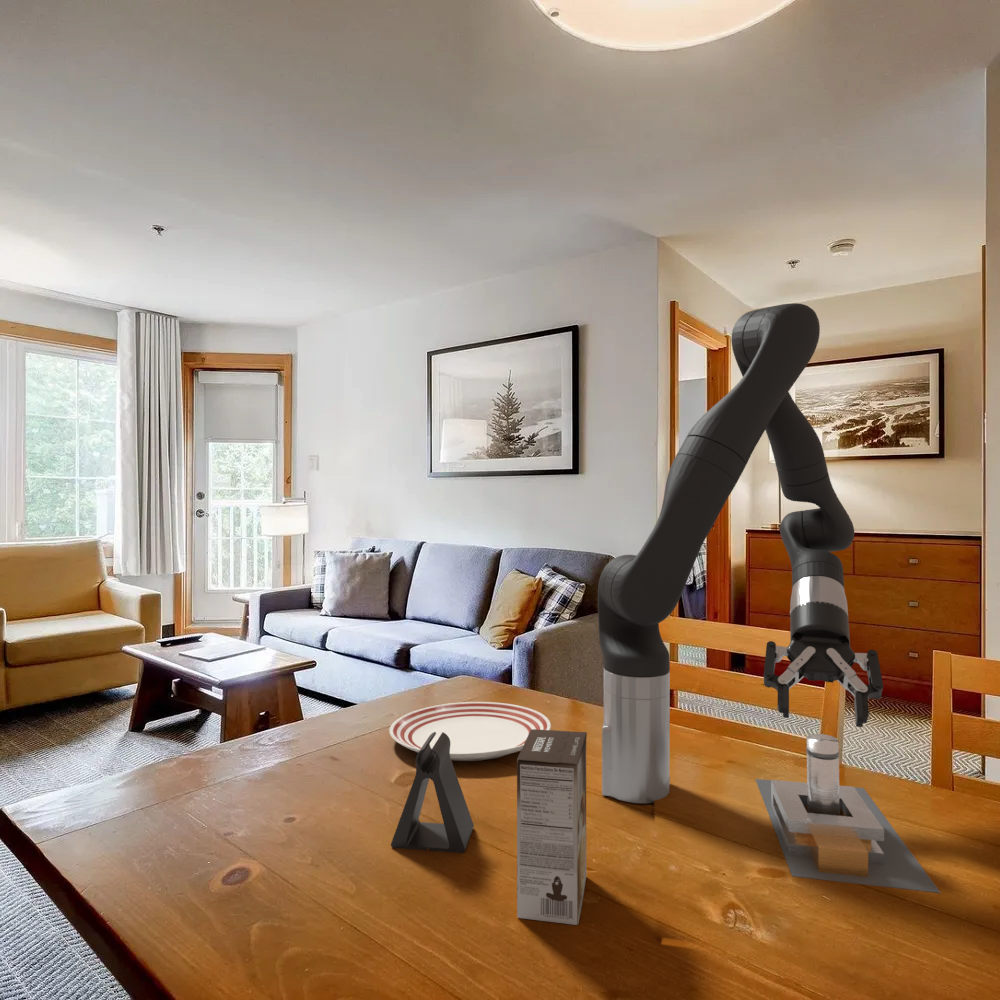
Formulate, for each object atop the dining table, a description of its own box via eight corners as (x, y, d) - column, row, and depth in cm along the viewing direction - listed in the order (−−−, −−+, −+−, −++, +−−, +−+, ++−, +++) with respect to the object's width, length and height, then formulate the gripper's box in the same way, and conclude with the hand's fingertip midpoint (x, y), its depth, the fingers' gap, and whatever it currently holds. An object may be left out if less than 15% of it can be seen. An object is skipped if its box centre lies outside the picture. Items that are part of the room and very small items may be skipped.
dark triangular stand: (474, 828, 86) (474, 733, 86) (464, 853, 80) (464, 751, 80) (404, 823, 87) (404, 730, 87) (390, 847, 81) (390, 747, 81)
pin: (811, 844, 81) (810, 743, 81) (804, 829, 84) (803, 732, 84) (844, 846, 80) (842, 745, 80) (835, 831, 84) (834, 734, 84)
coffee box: (529, 869, 76) (530, 726, 76) (587, 876, 75) (587, 730, 75) (515, 919, 67) (515, 757, 67) (580, 928, 66) (580, 762, 66)
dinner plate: (354, 749, 113) (354, 729, 113) (456, 707, 135) (456, 690, 135) (490, 790, 97) (490, 766, 97) (579, 734, 120) (579, 715, 120)
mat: (792, 880, 74) (792, 875, 74) (755, 782, 100) (755, 778, 100) (940, 897, 71) (940, 892, 71) (863, 791, 96) (863, 788, 96)
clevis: (794, 869, 75) (794, 833, 75) (771, 810, 90) (771, 779, 90) (893, 879, 73) (893, 843, 73) (853, 817, 87) (853, 786, 87)
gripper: (765, 596, 98) (762, 697, 87) (877, 603, 92) (889, 712, 82) (765, 626, 103) (763, 726, 92) (872, 634, 97) (882, 741, 87)
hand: (822, 719), depth 87 cm, fingers open, 8 cm apart
